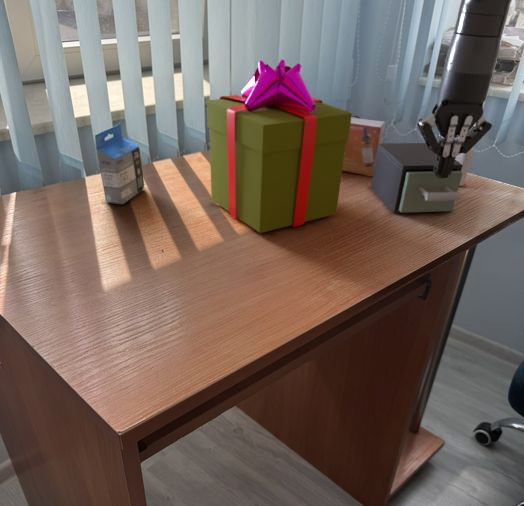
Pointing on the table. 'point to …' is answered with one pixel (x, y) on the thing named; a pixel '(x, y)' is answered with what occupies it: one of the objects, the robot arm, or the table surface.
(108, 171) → the label tape box
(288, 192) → the gift box
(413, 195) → the drawer
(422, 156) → the cabinet
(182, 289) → the table surface
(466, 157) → the eye dropper bottle
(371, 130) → the small box
